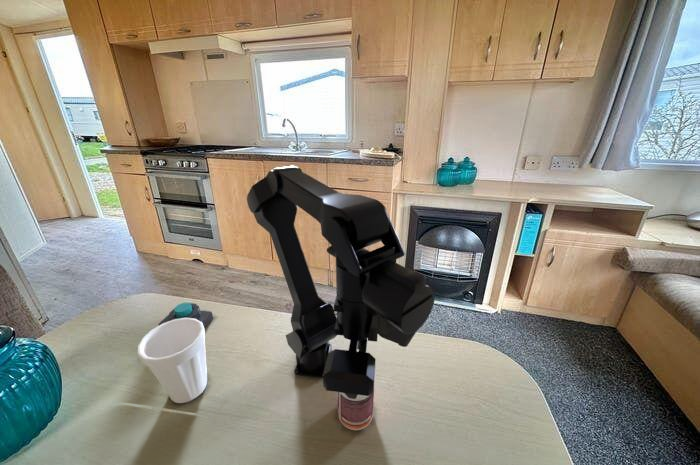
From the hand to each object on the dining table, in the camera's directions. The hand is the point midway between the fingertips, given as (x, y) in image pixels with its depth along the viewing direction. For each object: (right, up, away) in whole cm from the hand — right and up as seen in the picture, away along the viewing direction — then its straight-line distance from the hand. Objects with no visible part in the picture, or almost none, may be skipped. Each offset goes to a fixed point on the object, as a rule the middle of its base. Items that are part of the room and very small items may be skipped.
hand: (355, 370), depth 44 cm
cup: (-32, -8, +8) cm, 34 cm away
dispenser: (-41, -1, +24) cm, 48 cm away
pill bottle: (0, -10, +4) cm, 11 cm away
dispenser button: (-41, +3, +23) cm, 47 cm away
